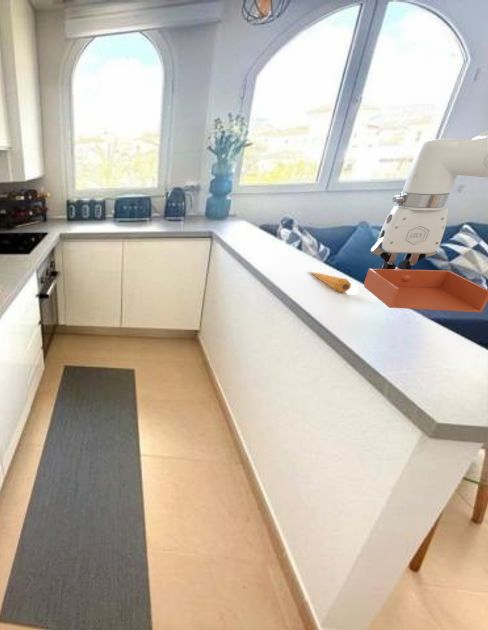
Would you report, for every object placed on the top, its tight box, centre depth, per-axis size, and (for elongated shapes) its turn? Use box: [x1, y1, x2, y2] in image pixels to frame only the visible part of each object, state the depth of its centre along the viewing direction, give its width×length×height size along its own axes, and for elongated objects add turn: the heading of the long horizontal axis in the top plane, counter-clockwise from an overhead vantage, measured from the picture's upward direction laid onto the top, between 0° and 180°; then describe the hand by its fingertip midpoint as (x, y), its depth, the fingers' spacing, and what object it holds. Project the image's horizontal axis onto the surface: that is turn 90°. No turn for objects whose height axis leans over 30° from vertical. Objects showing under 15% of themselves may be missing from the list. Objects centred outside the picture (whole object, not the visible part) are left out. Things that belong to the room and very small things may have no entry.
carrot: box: [310, 272, 352, 293], centre depth 118 cm, size 20×4×4 cm, turn 175°
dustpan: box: [363, 263, 488, 313], centre depth 78 cm, size 22×15×4 cm
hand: (392, 278), depth 84 cm, fingers closed on dustpan, 2 cm apart
